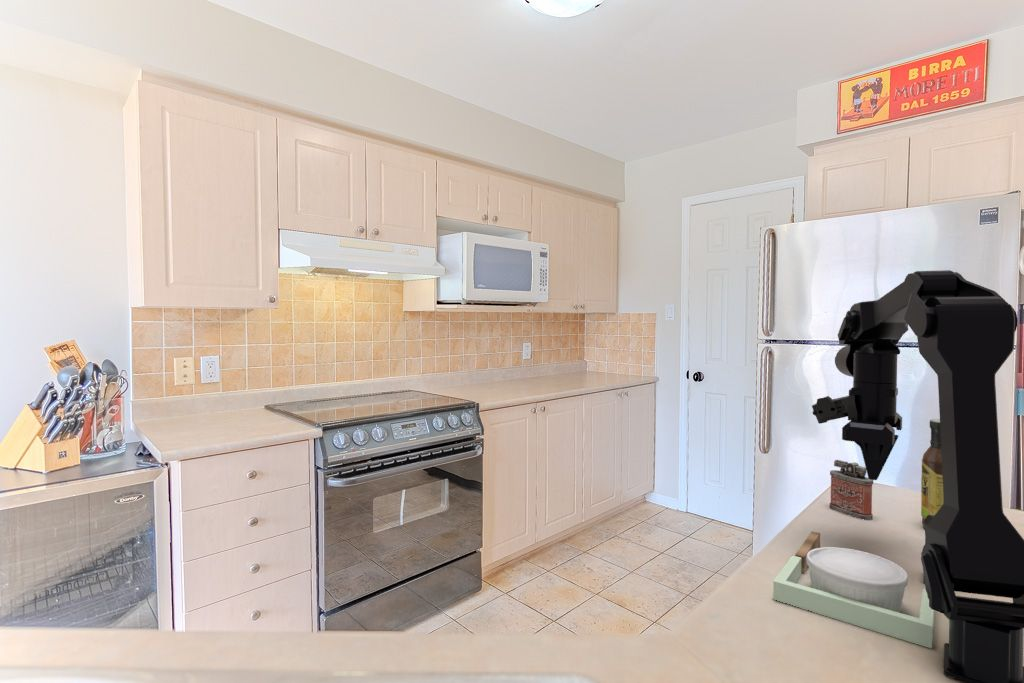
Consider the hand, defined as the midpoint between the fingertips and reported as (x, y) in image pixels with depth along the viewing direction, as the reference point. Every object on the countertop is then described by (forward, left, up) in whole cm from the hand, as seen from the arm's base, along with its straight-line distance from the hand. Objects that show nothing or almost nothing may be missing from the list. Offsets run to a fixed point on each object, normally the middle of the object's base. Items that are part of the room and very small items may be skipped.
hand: (872, 479), depth 84 cm
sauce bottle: (+20, -9, -12) cm, 25 cm away
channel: (-9, 0, -12) cm, 15 cm away
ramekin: (-20, 0, -12) cm, 23 cm away
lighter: (+20, +5, -12) cm, 24 cm away
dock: (-21, 0, -12) cm, 24 cm away
